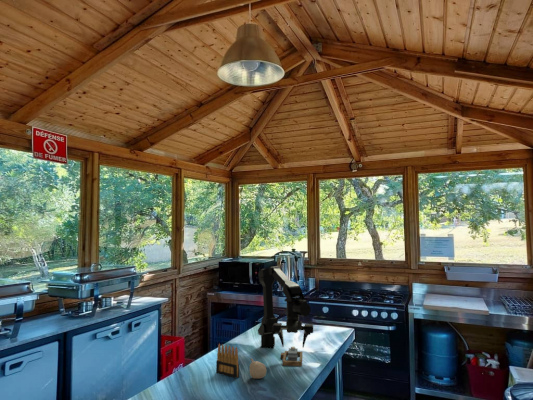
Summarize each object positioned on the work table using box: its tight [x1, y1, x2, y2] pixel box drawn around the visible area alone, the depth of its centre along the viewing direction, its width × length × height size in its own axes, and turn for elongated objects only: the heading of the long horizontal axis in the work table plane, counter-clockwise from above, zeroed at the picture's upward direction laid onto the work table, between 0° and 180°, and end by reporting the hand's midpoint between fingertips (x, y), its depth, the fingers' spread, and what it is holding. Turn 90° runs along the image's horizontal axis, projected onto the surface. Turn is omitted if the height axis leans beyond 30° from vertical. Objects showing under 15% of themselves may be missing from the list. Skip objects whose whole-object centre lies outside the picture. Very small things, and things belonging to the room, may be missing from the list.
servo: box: [287, 346, 299, 361], centre depth 171 cm, size 4×9×6 cm, turn 173°
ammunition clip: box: [215, 342, 240, 379], centre depth 153 cm, size 11×2×12 cm, turn 59°
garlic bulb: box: [249, 358, 267, 380], centre depth 150 cm, size 7×6×8 cm
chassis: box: [280, 350, 304, 367], centre depth 171 cm, size 10×14×2 cm
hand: (293, 347), depth 171 cm, fingers open, 9 cm apart
